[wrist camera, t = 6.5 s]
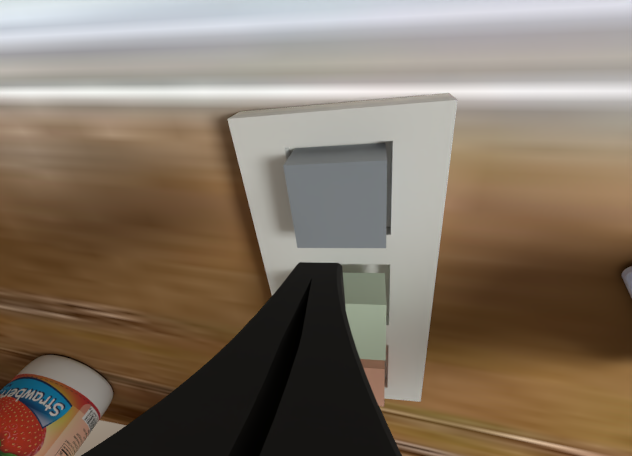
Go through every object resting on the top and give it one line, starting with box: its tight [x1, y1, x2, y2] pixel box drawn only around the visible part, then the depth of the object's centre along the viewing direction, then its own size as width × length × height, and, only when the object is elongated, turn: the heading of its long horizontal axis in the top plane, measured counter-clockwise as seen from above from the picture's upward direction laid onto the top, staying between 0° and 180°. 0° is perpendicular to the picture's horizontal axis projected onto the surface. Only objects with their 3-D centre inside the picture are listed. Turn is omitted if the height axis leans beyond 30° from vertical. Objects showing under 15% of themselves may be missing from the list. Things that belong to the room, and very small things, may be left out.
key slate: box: [283, 143, 387, 248], centre depth 15 cm, size 4×4×2 cm
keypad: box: [228, 93, 457, 402], centre depth 20 cm, size 22×10×2 cm, turn 6°
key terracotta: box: [360, 359, 385, 406], centre depth 22 cm, size 4×4×2 cm
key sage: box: [343, 273, 386, 361], centre depth 18 cm, size 4×4×2 cm
